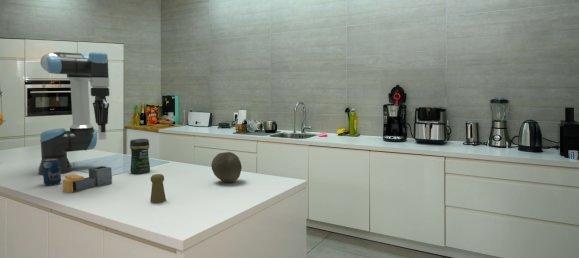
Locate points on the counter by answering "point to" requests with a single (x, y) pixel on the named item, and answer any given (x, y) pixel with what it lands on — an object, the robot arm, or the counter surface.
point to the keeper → (70, 182)
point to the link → (94, 178)
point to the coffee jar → (139, 156)
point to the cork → (157, 189)
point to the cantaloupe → (226, 166)
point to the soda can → (51, 172)
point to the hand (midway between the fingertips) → (102, 139)
